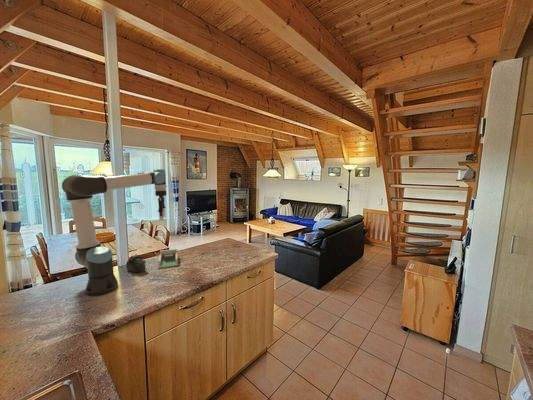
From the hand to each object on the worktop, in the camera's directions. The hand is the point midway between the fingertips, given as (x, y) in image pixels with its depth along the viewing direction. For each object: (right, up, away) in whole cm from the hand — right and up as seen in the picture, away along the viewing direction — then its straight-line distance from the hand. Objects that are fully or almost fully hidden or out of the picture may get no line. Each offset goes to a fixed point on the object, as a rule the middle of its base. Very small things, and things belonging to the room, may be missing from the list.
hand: (162, 218), depth 175 cm
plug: (+4, -31, +2) cm, 31 cm away
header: (+5, -32, -2) cm, 33 cm away
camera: (-11, -34, -15) cm, 39 cm away
